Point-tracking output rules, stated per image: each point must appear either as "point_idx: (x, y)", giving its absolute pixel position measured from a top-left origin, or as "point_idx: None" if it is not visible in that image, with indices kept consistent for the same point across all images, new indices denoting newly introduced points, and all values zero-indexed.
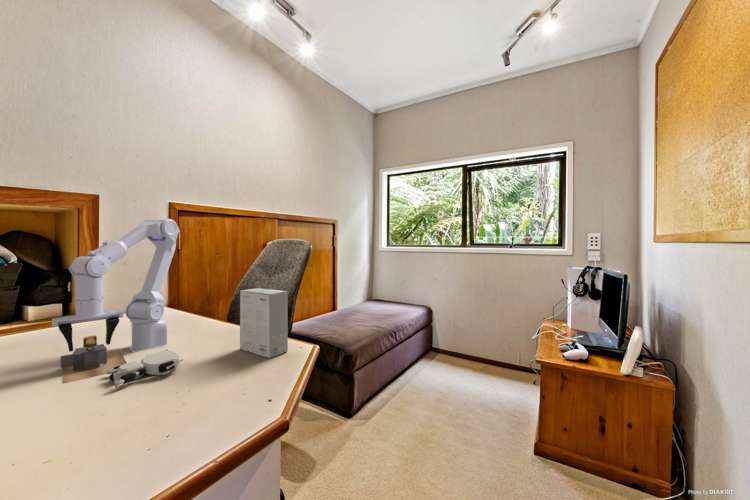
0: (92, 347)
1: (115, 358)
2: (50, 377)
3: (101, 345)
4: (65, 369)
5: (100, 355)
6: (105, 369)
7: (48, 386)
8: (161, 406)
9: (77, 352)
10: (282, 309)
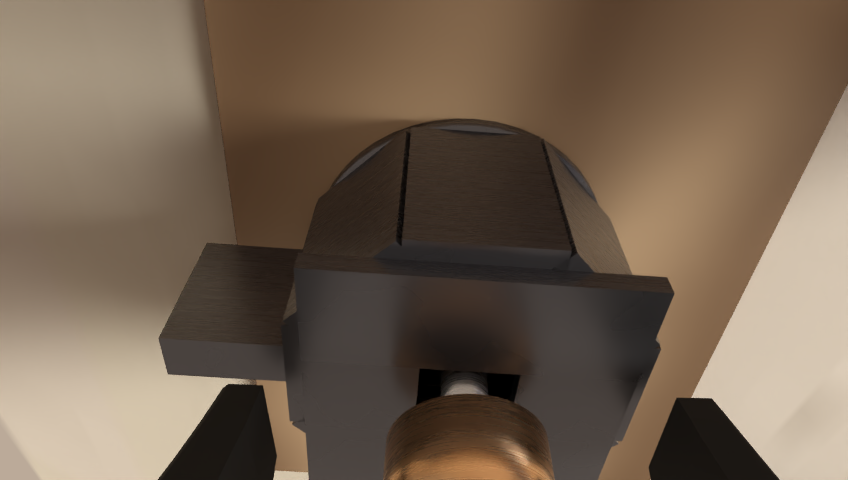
0: (501, 370)
1: (710, 194)
2: (164, 256)
3: (619, 354)
4: (255, 196)
5: None
6: None
7: (194, 418)
8: None
9: (326, 446)
10: None
